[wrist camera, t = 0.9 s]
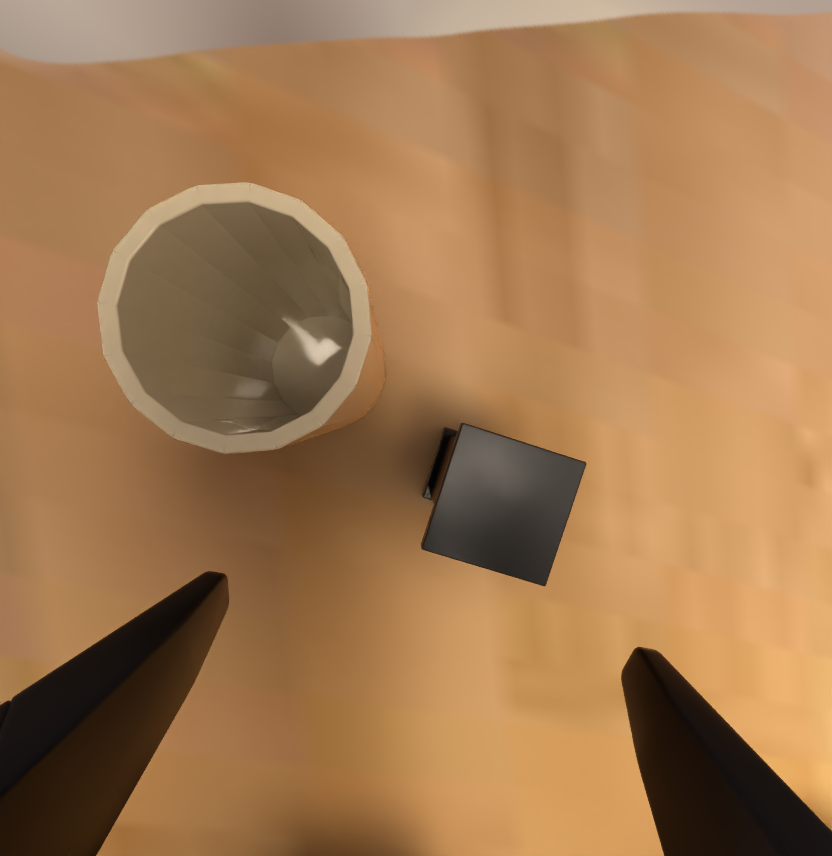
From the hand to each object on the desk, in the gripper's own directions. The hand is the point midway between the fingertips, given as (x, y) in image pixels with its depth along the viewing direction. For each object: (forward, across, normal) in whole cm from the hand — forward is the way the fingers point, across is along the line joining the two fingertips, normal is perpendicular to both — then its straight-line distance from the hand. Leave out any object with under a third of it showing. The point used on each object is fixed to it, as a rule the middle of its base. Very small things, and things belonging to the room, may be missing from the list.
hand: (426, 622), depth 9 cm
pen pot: (+15, +6, 0) cm, 16 cm away
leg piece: (+13, -2, +4) cm, 14 cm away
